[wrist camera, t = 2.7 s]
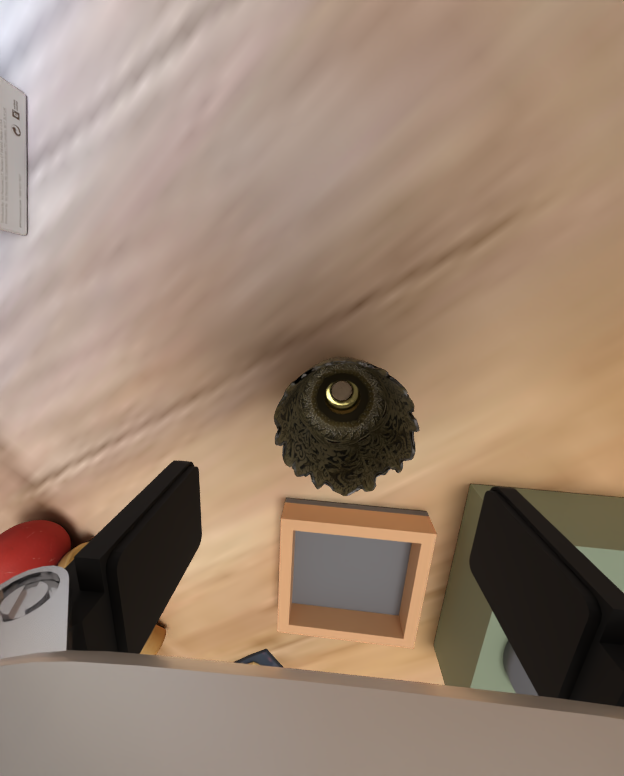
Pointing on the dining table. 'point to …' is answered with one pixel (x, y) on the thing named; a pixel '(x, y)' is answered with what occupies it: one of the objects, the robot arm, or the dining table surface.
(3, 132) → the supplement box
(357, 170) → the dining table surface
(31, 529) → the kendama
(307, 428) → the dark bronze domed piece
